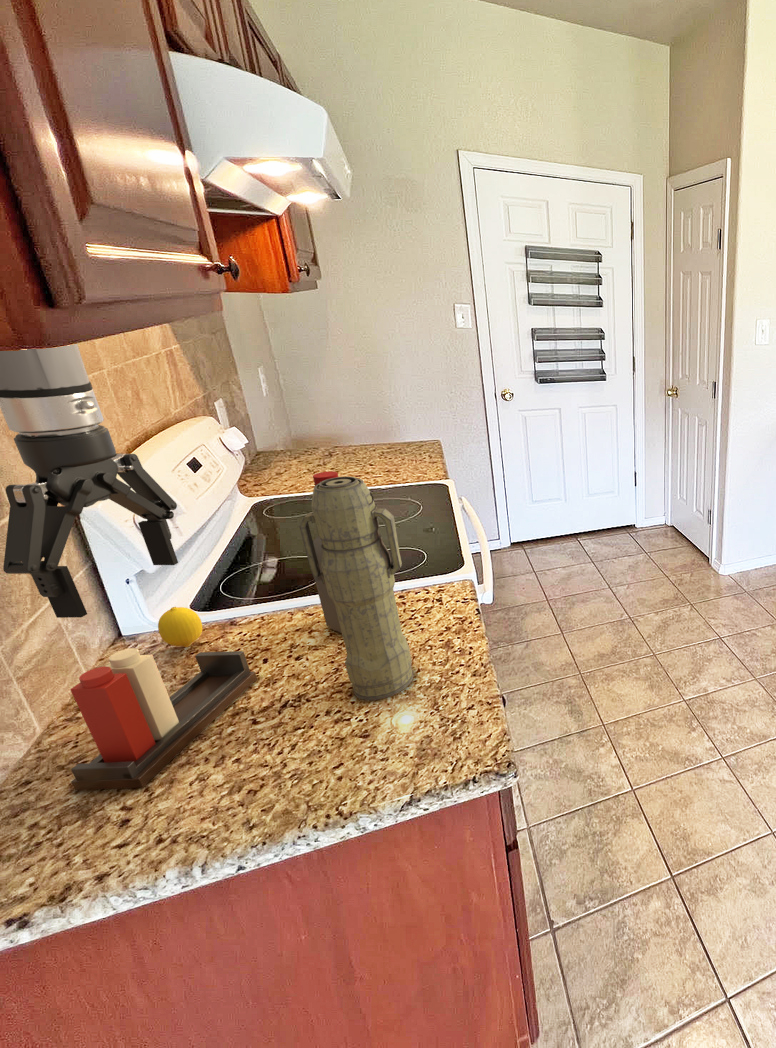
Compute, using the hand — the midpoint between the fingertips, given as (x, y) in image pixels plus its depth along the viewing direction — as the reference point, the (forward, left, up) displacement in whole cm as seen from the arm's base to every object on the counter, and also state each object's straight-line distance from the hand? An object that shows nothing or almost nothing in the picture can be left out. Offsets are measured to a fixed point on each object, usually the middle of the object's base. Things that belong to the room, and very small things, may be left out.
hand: (123, 588), depth 74 cm
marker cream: (-1, -3, -22) cm, 22 cm away
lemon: (-15, +21, -24) cm, 35 cm away
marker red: (-1, -7, -22) cm, 23 cm away
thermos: (+24, +9, -24) cm, 35 cm away
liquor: (+11, +28, -24) cm, 39 cm away
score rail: (-1, 0, -24) cm, 24 cm away
